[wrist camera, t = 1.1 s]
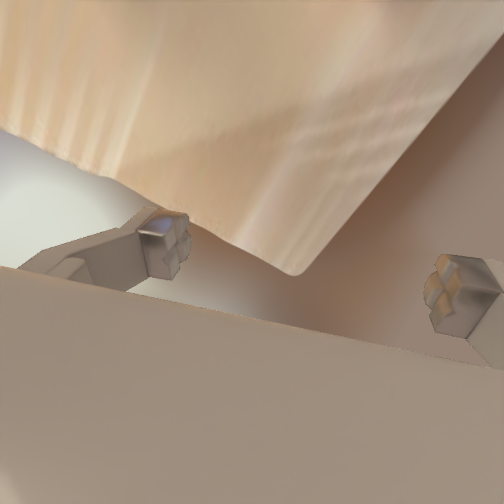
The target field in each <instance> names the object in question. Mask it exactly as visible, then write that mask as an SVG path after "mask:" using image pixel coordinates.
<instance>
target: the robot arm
mask: <svg viewBox="0 0 504 504" xmlns="http://www.w3.org/2000/svg"><path fill="white" fill-rule="evenodd" d="M189 226H190V221H189V216H188V215H187V214H186V213H181V212H175V211H169V210H164V209H159V208H152V207H144V208H143V209H142V210H141V211H140V212H138V213H137V214H136V215H135V216H134V217H133V218H131V219H130V220H129V221H128V222H127V223H125V224H124V225H123V226H122V227H121V228H113V229H110V230H107V231H104V232H100V233H97V234H94V235H90V236H87V237H84V238H81V239H77V240H74V241H71V242H68V243H64V244H61V245H58V246H54V247H51V248H48V249H45V250H42V251H40V252H39V253H38V254H36V255H35V256H34V257H33V258H31V259H29V260H28V261H27V262H25V263H24V264H22V265H21V266H20V267H18V268H17V269H13V268H9V267H4V266H0V504H504V264H503V263H502V262H500V261H498V260H489V259H481V258H473V257H465V256H457V255H449V254H441V255H440V256H439V257H438V259H437V261H436V263H435V267H436V269H437V271H436V272H434V273H432V274H431V275H429V276H428V278H427V281H426V283H425V286H424V300H425V304H426V305H427V306H428V307H429V308H430V309H431V310H432V311H431V313H430V314H429V316H430V319H431V322H432V325H433V328H434V331H435V332H437V333H441V334H446V335H450V336H455V337H459V338H464V339H466V341H467V342H468V343H469V344H470V345H471V346H472V347H473V348H474V349H475V350H476V351H477V353H478V354H479V355H480V356H481V357H482V358H483V359H484V360H485V361H486V362H487V363H488V364H489V365H490V366H491V367H492V368H490V367H485V366H480V365H476V364H471V363H466V362H461V361H456V360H451V359H447V358H442V357H437V356H432V355H428V354H422V353H418V352H413V351H408V350H404V349H399V348H393V347H389V346H384V345H379V344H375V343H370V342H365V341H360V340H355V339H350V338H346V337H341V336H336V335H331V334H326V333H322V332H317V331H312V330H307V329H302V328H298V327H293V326H288V325H283V324H278V323H274V322H269V321H264V320H259V319H254V318H249V317H245V316H240V315H235V314H230V313H225V312H221V311H216V310H211V309H206V308H201V307H196V306H191V305H187V304H182V303H177V302H172V301H168V300H162V299H158V298H153V297H148V296H144V295H139V294H134V293H129V292H125V291H127V290H129V289H130V288H132V287H134V286H136V285H137V284H139V283H141V282H142V281H144V280H146V279H148V277H153V278H159V279H165V280H173V278H174V277H175V275H176V274H177V272H178V271H179V269H180V263H182V262H184V261H186V259H187V258H188V256H189V253H190V250H191V244H192V241H191V235H190V234H189V233H188V231H187V228H188V227H189Z"/></svg>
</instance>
